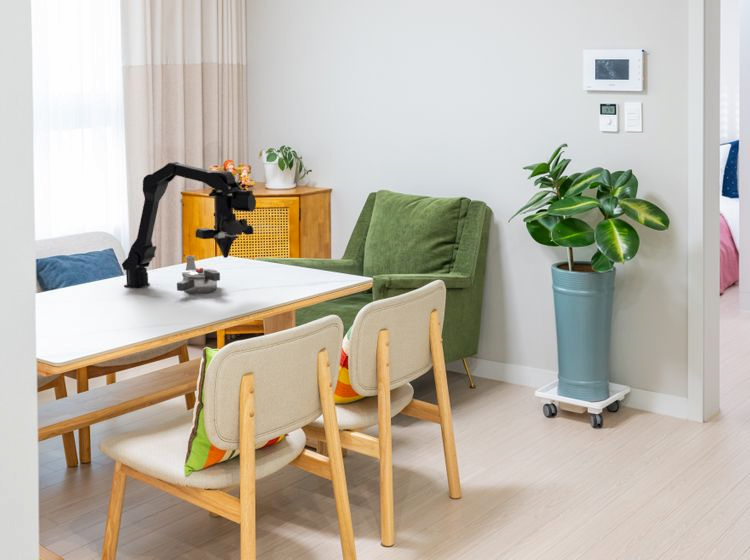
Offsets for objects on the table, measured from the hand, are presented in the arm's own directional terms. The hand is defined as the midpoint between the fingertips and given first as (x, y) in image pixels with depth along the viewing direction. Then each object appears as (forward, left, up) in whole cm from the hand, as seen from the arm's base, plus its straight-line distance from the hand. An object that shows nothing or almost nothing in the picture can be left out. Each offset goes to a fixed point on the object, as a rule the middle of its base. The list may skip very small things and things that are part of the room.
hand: (225, 257), depth 313 cm
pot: (-10, -2, -12) cm, 16 cm away
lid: (-8, -1, -7) cm, 10 cm away
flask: (-18, +7, -12) cm, 23 cm away
